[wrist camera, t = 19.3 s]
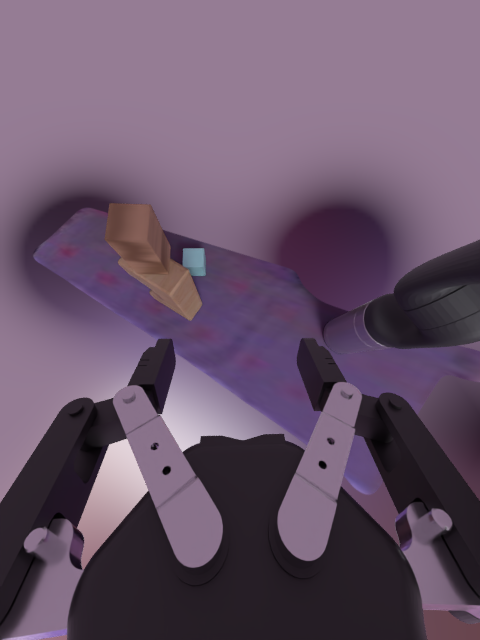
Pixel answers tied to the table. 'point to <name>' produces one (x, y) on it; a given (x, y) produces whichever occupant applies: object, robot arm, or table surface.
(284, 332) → the table surface
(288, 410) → the table surface
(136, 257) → the tan long block
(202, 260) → the teal cube
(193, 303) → the decorative block
